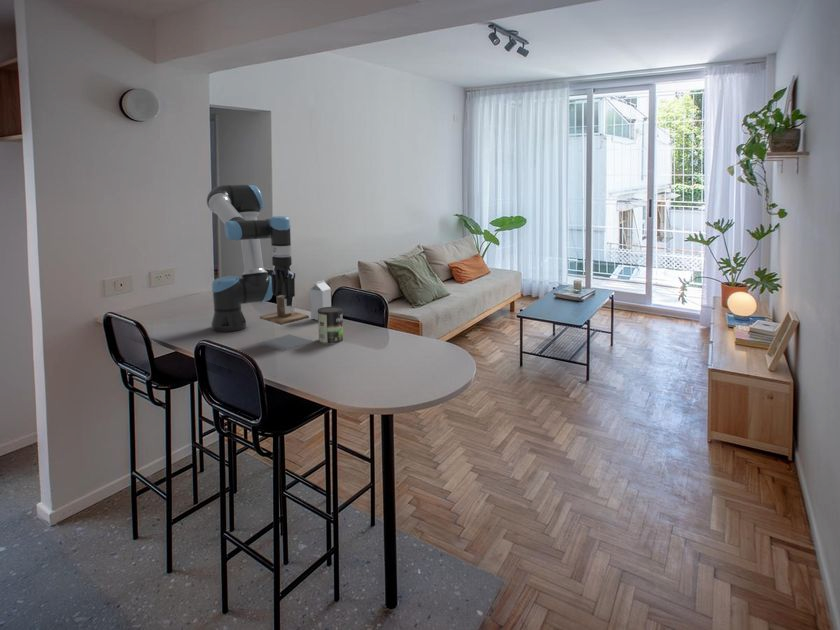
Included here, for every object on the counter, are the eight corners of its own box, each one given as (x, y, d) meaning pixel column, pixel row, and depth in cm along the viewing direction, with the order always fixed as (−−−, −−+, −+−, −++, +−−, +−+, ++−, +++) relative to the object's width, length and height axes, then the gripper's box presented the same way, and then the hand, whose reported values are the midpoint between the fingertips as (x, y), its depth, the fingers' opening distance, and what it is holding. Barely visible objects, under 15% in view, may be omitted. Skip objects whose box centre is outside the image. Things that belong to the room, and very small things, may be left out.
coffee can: (346, 339, 235) (345, 307, 231) (338, 346, 225) (337, 312, 222) (324, 337, 237) (322, 305, 233) (314, 344, 227) (313, 311, 224)
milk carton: (331, 318, 269) (330, 280, 265) (323, 321, 263) (322, 282, 259) (319, 316, 272) (318, 279, 268) (311, 319, 266) (309, 281, 261)
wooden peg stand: (259, 318, 224) (258, 297, 222) (287, 312, 235) (286, 291, 232) (281, 324, 216) (280, 302, 213) (308, 317, 226) (308, 296, 224)
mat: (256, 344, 226) (256, 343, 226) (289, 335, 239) (289, 334, 239) (282, 352, 216) (282, 351, 216) (315, 342, 229) (315, 341, 229)
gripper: (260, 254, 221) (263, 310, 227) (287, 259, 211) (290, 317, 217) (276, 252, 227) (278, 307, 233) (302, 257, 216) (305, 314, 222)
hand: (284, 312), depth 225 cm, fingers closed on wooden peg stand, 4 cm apart
